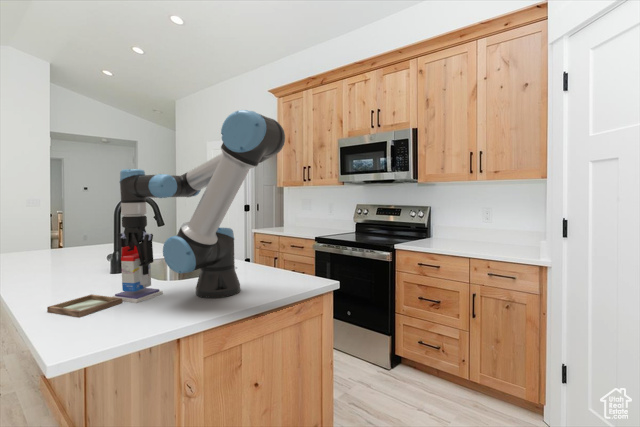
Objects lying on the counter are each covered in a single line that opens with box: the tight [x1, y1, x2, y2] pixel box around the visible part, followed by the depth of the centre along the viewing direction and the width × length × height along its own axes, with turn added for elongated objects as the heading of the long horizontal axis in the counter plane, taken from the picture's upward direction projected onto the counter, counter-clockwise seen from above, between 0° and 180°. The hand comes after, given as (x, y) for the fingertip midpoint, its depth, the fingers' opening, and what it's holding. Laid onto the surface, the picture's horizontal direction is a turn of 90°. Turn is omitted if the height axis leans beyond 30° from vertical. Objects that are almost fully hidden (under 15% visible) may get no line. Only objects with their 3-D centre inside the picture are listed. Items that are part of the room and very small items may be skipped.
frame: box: [46, 293, 123, 318], centre depth 112 cm, size 14×14×2 cm
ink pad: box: [111, 287, 164, 304], centre depth 123 cm, size 11×11×2 cm
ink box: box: [120, 246, 152, 292], centre depth 123 cm, size 8×5×15 cm, turn 168°
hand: (137, 283), depth 123 cm, fingers closed on ink box, 5 cm apart
